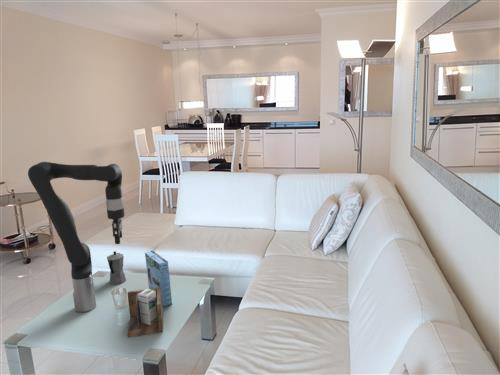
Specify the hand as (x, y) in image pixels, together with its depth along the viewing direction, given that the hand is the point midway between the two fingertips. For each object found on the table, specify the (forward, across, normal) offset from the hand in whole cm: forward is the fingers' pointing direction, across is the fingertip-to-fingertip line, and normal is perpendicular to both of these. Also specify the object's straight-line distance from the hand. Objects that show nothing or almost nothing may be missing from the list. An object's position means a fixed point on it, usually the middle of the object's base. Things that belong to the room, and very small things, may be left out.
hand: (118, 240), depth 186 cm
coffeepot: (+36, -34, -8) cm, 50 cm away
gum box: (+36, -8, +16) cm, 40 cm away
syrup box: (+35, +16, +12) cm, 40 cm away
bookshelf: (+36, +16, +10) cm, 41 cm away
